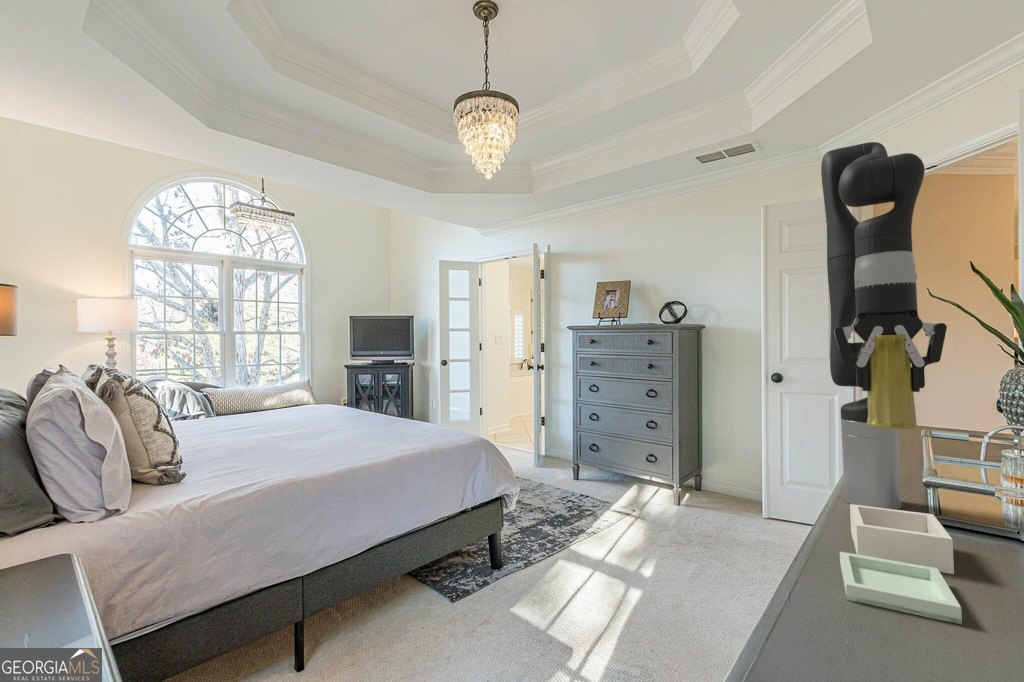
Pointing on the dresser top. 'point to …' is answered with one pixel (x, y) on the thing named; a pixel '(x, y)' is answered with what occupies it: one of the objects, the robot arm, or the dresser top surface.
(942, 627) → the dresser top surface
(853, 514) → the sleeve
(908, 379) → the vase
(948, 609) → the tray
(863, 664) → the dresser top surface
